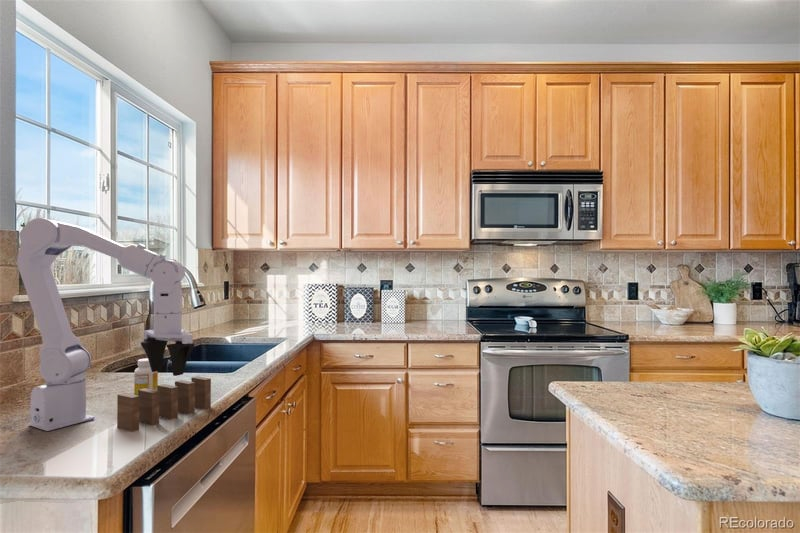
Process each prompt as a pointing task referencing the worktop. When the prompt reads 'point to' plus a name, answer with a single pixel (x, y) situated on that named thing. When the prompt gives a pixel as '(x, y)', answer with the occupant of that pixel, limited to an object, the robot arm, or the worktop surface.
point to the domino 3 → (168, 401)
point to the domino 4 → (186, 396)
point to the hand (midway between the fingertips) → (167, 373)
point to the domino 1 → (128, 412)
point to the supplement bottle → (144, 376)
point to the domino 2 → (148, 406)
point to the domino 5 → (202, 392)
